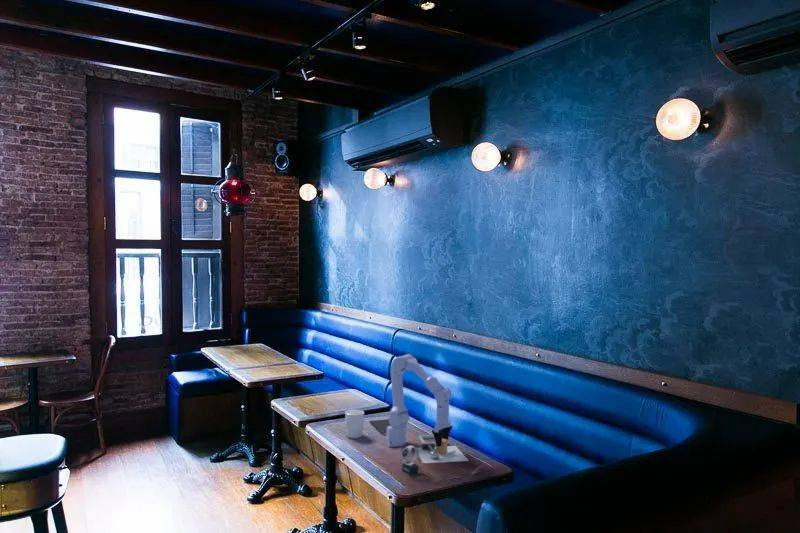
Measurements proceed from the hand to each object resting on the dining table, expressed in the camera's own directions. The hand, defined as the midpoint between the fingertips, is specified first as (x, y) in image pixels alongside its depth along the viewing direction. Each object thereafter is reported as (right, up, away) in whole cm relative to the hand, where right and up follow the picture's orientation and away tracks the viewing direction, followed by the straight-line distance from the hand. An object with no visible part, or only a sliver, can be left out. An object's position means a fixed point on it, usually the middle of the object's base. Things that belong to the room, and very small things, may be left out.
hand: (442, 443), depth 254 cm
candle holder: (-43, -4, +24) cm, 49 cm away
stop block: (0, -4, 0) cm, 4 cm away
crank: (-5, -4, -2) cm, 7 cm away
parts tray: (-3, -5, +15) cm, 16 cm away
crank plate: (-1, -5, -2) cm, 6 cm away
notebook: (-27, -5, +37) cm, 46 cm away
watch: (-15, -6, -20) cm, 26 cm away
